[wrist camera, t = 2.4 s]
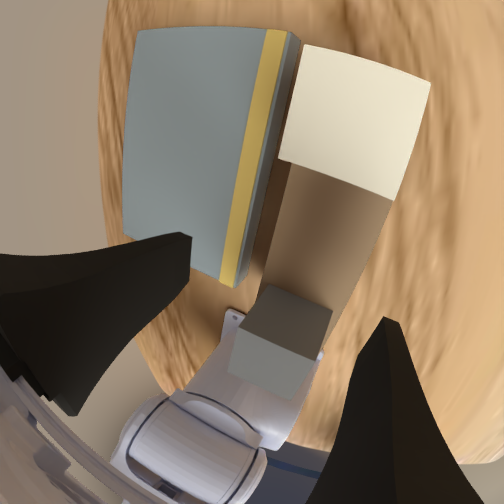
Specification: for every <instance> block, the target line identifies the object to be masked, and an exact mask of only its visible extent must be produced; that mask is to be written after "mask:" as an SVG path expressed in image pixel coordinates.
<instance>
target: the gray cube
mask: <svg viewBox="0 0 504 504" xmlns="http://www.w3.org/2000/svg"><path fill="white" fill-rule="evenodd" d="M332 313H333V311H332V310H329V309H327V308H325V307H322V306H320V305H318V304H315V303H313V302H310V301H308V300H306V299H303V298H301V297H299V296H296V295H294V294H292V293H289V292H287V291H285V290H282V289H280V288H278V287H275V286H273V285H271V284H269V285H268V286H267V287H266V289H265V290H264V292H263V293H262V294H261V296H260V297H259V298H258V300H257V301H256V303H255V304H254V305H253V307H252V308H251V310H250V311H249V312H248V314H247V315H246V316H245V318H244V319H243V321H242V322H241V323H240V325H239V326H238V328H237V333H236V337H235V341H234V345H233V349H232V353H231V357H230V362H229V366H228V370H227V372H229V373H231V374H233V375H235V376H237V377H239V378H241V379H243V380H245V381H247V382H249V383H251V384H253V385H255V386H258V387H260V388H262V389H264V390H266V391H268V392H271V393H273V394H275V395H277V396H280V397H282V398H284V399H287V400H289V401H291V400H292V398H293V397H294V395H295V394H296V392H297V391H298V389H299V387H300V386H301V384H302V383H303V381H304V380H305V378H306V376H307V375H308V373H309V371H310V370H311V368H312V367H313V365H314V363H315V362H316V359H317V356H318V354H319V351H320V348H321V345H322V342H323V340H324V337H325V334H326V331H327V328H328V325H329V322H330V319H331V316H332Z"/></svg>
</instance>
